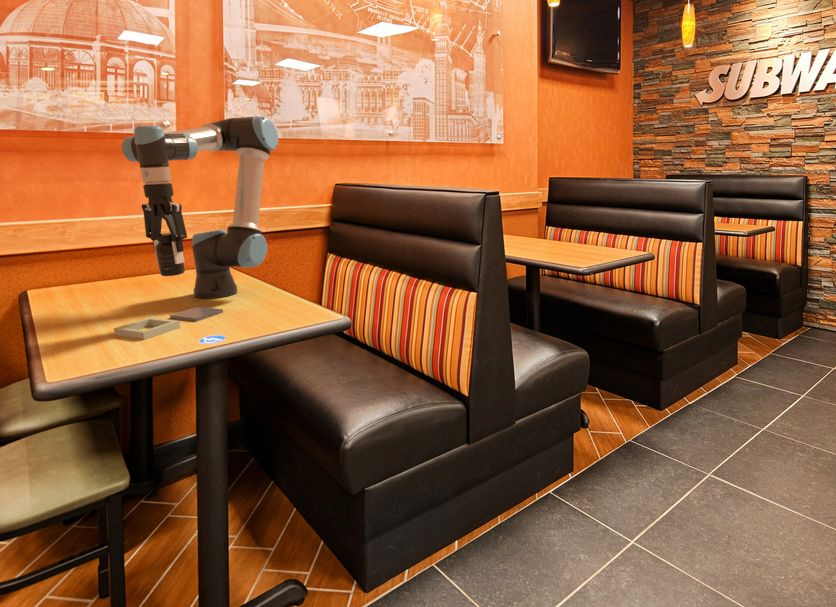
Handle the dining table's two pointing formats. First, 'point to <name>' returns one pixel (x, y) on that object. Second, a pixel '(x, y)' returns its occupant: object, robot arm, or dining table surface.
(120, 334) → the frame
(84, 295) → the dining table surface
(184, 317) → the slate coaster
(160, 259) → the supplement bottle
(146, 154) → the robot arm
